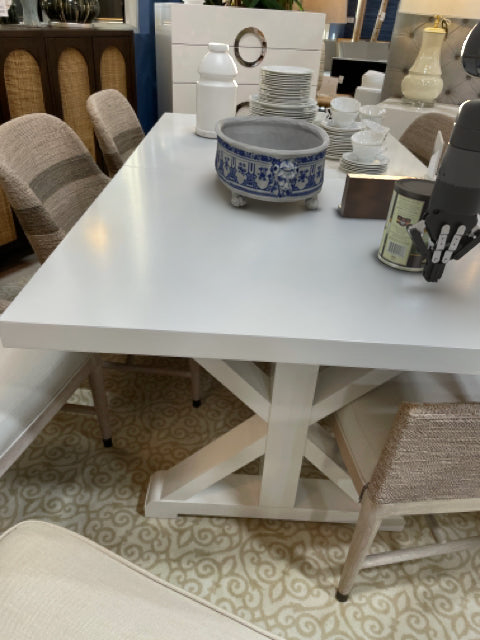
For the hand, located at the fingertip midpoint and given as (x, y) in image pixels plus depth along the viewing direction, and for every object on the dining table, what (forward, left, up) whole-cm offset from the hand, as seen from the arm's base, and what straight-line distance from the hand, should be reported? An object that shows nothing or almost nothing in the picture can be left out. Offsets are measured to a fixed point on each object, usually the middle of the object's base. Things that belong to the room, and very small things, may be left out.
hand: (430, 280), depth 80 cm
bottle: (+35, -108, -2) cm, 114 cm away
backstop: (-1, -34, -2) cm, 34 cm away
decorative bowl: (+23, -48, -2) cm, 54 cm away
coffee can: (0, -11, -2) cm, 11 cm away
